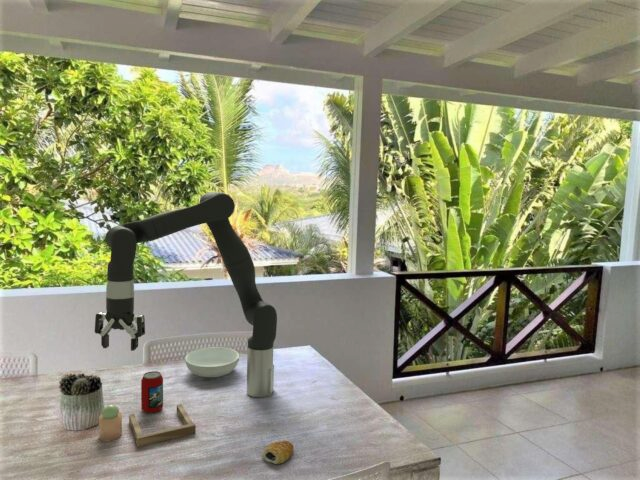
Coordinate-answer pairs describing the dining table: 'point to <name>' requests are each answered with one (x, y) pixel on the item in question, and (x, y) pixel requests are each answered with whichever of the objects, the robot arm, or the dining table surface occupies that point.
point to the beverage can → (152, 392)
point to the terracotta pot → (110, 423)
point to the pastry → (278, 452)
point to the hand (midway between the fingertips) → (119, 348)
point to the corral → (163, 434)
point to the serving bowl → (212, 361)
